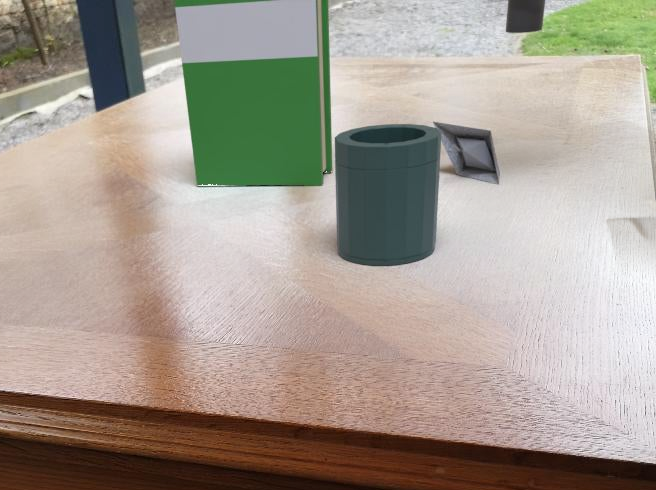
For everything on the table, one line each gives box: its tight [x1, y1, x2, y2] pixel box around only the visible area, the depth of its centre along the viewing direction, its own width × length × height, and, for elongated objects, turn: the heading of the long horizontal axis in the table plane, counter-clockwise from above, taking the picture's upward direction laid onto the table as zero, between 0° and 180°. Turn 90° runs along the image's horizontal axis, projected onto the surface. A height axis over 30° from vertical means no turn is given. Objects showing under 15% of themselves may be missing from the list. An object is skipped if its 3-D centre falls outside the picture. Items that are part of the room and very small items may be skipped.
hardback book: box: [173, 0, 333, 187], centre depth 102 cm, size 18×7×24 cm, turn 75°
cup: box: [334, 123, 442, 267], centre depth 78 cm, size 10×10×11 cm
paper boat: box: [432, 121, 501, 185], centre depth 100 cm, size 12×6×9 cm
